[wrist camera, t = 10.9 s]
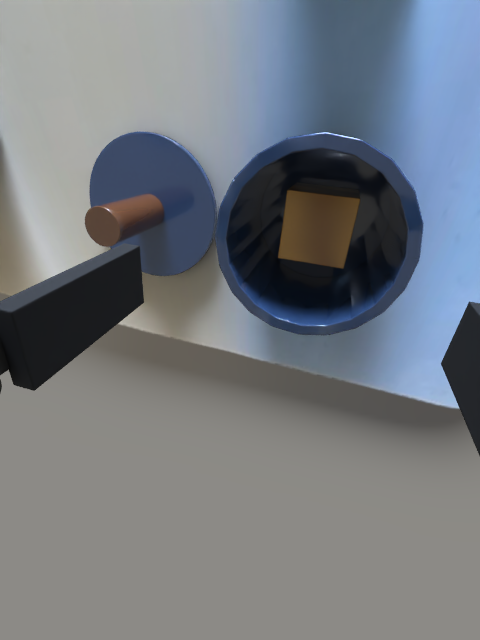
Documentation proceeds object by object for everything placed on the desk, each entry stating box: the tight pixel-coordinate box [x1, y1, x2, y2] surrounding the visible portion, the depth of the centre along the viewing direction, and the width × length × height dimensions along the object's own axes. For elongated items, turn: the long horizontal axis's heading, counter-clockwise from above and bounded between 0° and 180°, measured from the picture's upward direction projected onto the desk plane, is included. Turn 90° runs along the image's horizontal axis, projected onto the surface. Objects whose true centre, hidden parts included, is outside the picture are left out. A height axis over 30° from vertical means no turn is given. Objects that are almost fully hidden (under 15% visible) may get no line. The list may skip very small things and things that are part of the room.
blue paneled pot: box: [215, 132, 423, 335], centre depth 26 cm, size 13×13×10 cm
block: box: [278, 182, 360, 269], centre depth 27 cm, size 5×5×5 cm
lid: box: [85, 132, 217, 276], centre depth 31 cm, size 14×14×9 cm
